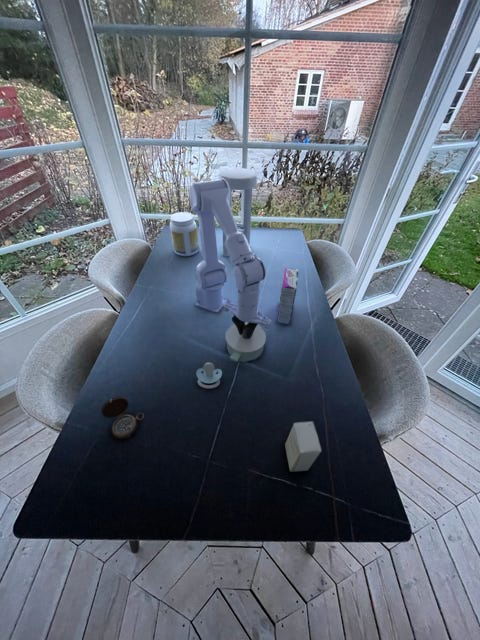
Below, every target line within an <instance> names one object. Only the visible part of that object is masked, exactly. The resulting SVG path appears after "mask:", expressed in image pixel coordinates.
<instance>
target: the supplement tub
mask: <svg viewBox="0 0 480 640" xmlns="http://www.w3.org/2000/svg"><path fill="white" fill-rule="evenodd" d="M194 217H195V216H194V214H193V213H191V212H186V211H179V212H175V213H173V214H171V215H170V223H169V231H170V236H171V241H172V247H173V252H174V253H175V254H176V255H178V256H180V257H190V256H194V255H196V254H197V253H198V251H199V249H200V246H199V237H198V227H197V226H198V225H197V222H196V221H195V218H194Z"/></svg>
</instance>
